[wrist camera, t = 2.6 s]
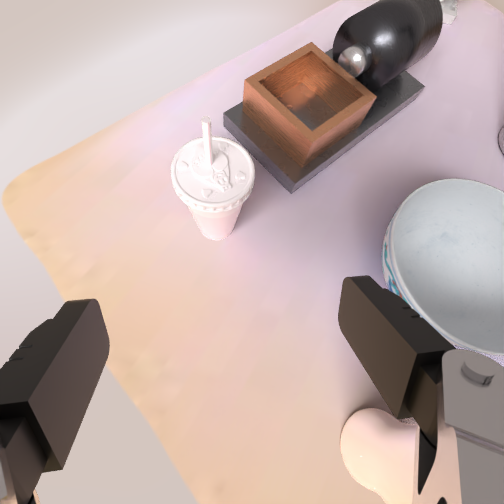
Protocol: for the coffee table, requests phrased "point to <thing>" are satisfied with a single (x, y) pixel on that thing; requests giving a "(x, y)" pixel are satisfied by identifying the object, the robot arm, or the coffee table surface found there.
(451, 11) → the security camera
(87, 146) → the coffee table surface
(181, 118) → the coffee table surface
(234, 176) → the smoothie
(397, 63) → the motor mount
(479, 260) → the chinaware
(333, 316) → the coffee table surface
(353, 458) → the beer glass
